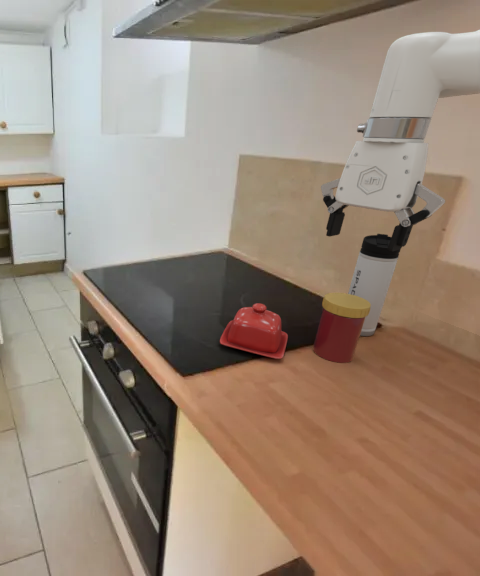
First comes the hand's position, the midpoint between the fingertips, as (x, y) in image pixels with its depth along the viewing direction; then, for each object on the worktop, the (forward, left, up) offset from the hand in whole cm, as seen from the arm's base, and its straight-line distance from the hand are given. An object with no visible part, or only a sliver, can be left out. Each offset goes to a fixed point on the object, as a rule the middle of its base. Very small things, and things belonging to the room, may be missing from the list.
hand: (361, 242), depth 63 cm
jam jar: (0, 0, -22) cm, 22 cm away
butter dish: (+10, -10, -22) cm, 26 cm away
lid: (0, 0, -11) cm, 11 cm away
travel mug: (-14, -3, -22) cm, 26 cm away
